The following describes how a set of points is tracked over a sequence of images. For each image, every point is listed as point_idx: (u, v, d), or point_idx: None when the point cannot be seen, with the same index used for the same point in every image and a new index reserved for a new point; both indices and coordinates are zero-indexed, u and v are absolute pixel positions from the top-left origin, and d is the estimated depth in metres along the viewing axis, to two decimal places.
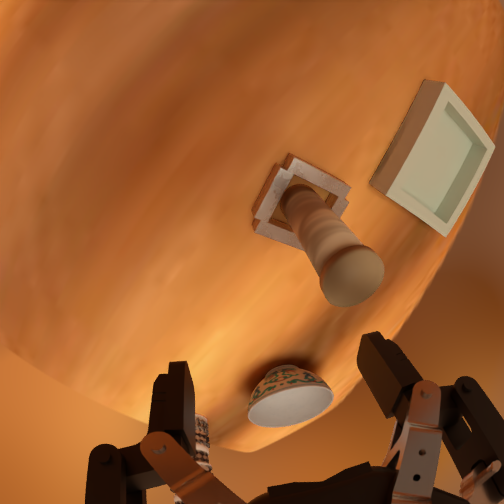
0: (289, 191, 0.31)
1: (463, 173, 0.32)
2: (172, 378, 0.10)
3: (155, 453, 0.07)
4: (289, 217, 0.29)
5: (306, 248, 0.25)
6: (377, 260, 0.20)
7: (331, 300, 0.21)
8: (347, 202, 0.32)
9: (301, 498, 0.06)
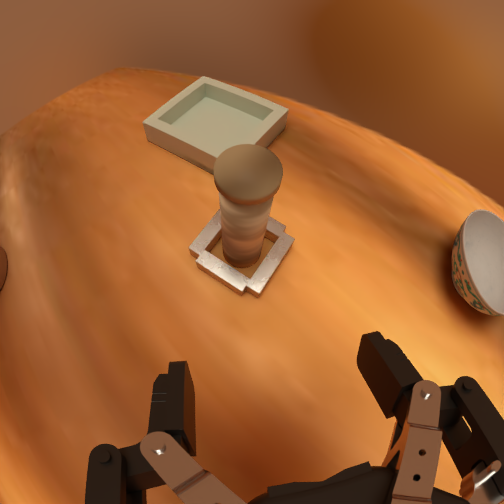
0: (225, 256, 0.33)
1: (229, 101, 0.42)
2: (172, 378, 0.10)
3: (155, 453, 0.07)
4: (239, 254, 0.30)
5: (243, 228, 0.25)
6: (228, 151, 0.21)
7: (267, 190, 0.20)
8: None
9: (301, 498, 0.06)
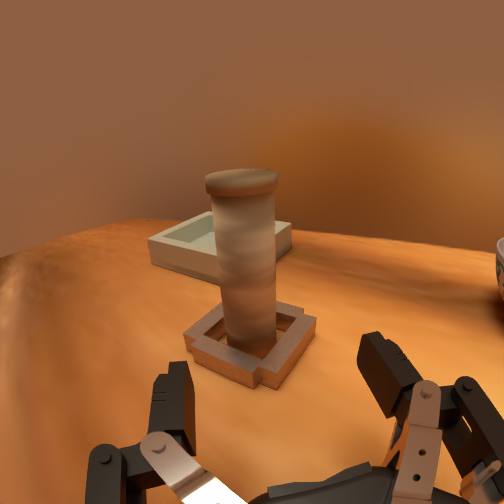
0: (230, 346, 0.24)
1: None
2: (172, 378, 0.10)
3: (155, 453, 0.07)
4: (245, 323, 0.22)
5: (243, 257, 0.20)
6: (221, 171, 0.21)
7: (262, 177, 0.18)
8: None
9: (301, 498, 0.06)
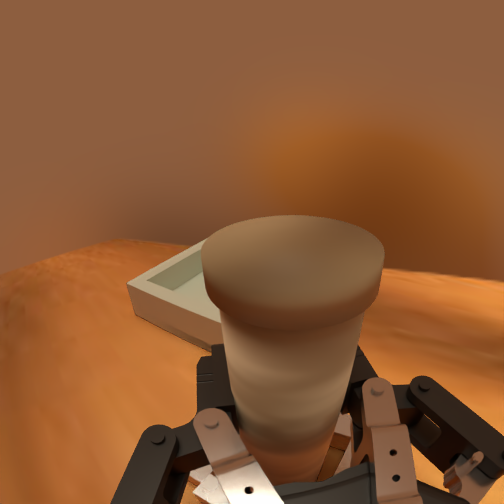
0: None
1: None
2: (216, 359, 0.11)
3: (210, 429, 0.08)
4: (281, 479, 0.10)
5: (293, 422, 0.08)
6: (240, 225, 0.10)
7: (362, 271, 0.06)
8: None
9: (301, 498, 0.06)
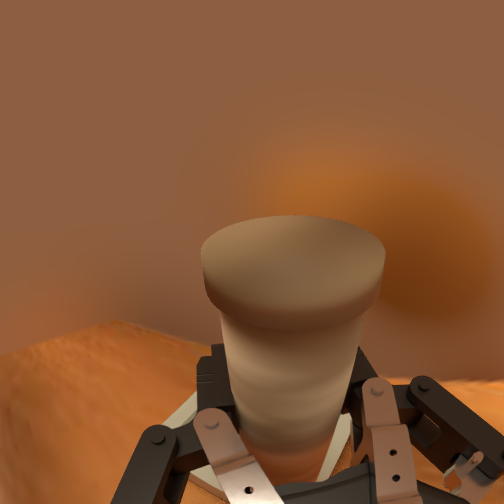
0: None
1: None
2: (216, 359, 0.11)
3: (210, 429, 0.08)
4: (281, 480, 0.10)
5: (293, 423, 0.08)
6: (240, 225, 0.09)
7: (363, 272, 0.06)
8: None
9: (301, 498, 0.06)
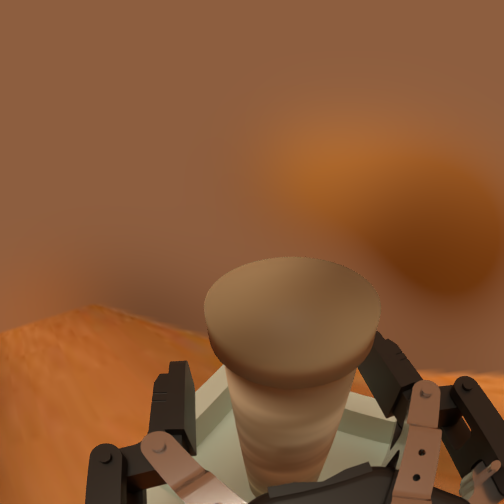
0: (254, 492, 0.13)
1: None
2: (173, 378, 0.10)
3: (156, 453, 0.07)
4: None
5: (291, 450, 0.08)
6: (241, 270, 0.10)
7: (358, 335, 0.06)
8: None
9: (301, 498, 0.06)
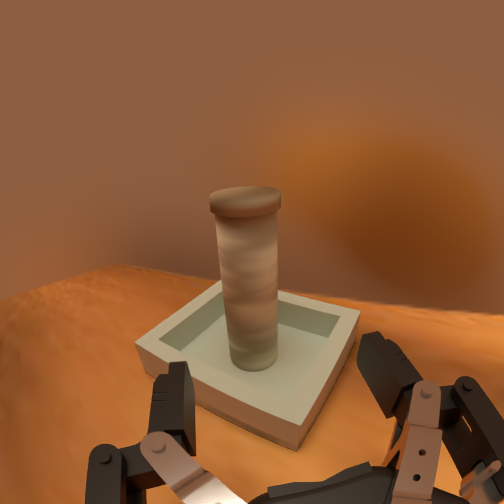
0: (233, 358, 0.25)
1: None
2: (172, 378, 0.10)
3: (155, 453, 0.07)
4: (248, 337, 0.23)
5: (247, 274, 0.20)
6: (225, 189, 0.22)
7: (265, 198, 0.19)
8: None
9: (301, 498, 0.06)
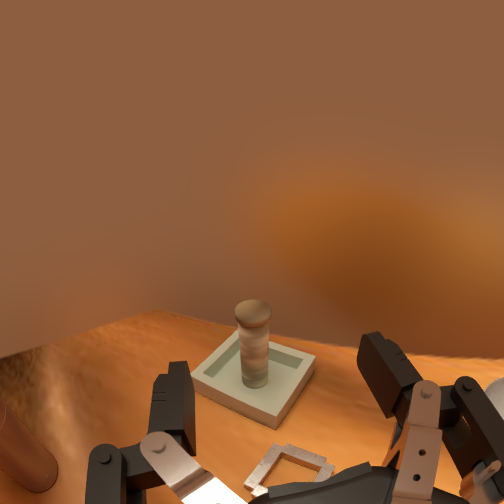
0: (244, 381, 0.45)
1: None
2: (172, 378, 0.10)
3: (155, 453, 0.07)
4: (253, 373, 0.43)
5: (253, 348, 0.40)
6: (242, 303, 0.41)
7: (264, 317, 0.38)
8: (287, 444, 0.33)
9: (301, 498, 0.06)
